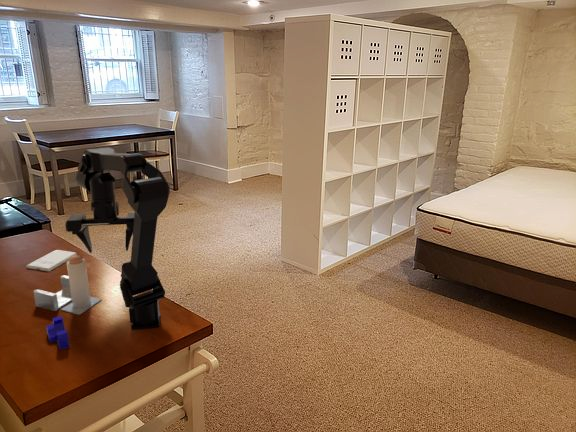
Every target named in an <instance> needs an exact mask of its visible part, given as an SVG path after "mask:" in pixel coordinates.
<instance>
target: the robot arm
mask: <svg viewBox="0 0 576 432" xmlns="http://www.w3.org/2000/svg"><path fill="white" fill-rule="evenodd" d="M82 153H83V154H81V156H80V160H79V164H78V165H77V170H78V172H77V173H76V176H75V181H76V184H77V185H78V186H79V187H80V188H83V189H85V191H88V192H90V196H91V197H90V199H91V201H90V208H91V211H92V214H93V217H92V218H87V216H86V214H71V215H70V216H69V217H68V218H67V219H66V221H65V232H68V233H71V234H72V235H76V236H77V237H78V238H79V240H80V241H81V242H82V244H83V245H84V246H85V248H86V249H87V250H88V252H89V253H91V254H92V252H93V246H92V245H93V244H92V241H91V237H90V236H91V235H90V231H89V227H93V226H116V225H117V226H118V225H119V226H120V225H125V226H126V229H125V251H126V252H128V250H129V247H130V243H131V256H130V261H127V262H124V263H123V264H121V273H120V278H121V279H120V281H119V289H120V292H121V295H122V299H123V301H124V306H125V308H128V314H129V315H128V316H129V323H130V324H131V330H139V329H149V328H158V327H159V326H160V321H161V312H160V304H159V303H160V302H159V300H161V299H164V298H165V295H166V290H165V289H164V286H163V284H162V282H161V279H160V278H159V275H158V271H157V270H156V269H155V267H154V266H153V257H154V249H155V239H156V233H157V224H158V218H159V216H160V214H162V212H163V211H164V210H165V209H166V207H167V205H168V201H169V196H170V193H171V189H170V185H169V183H168V181H167V180H166V178H165V177H164V175H163V173H162V171H161V170H159V169H158V168H157V167H156V166H155V165H152V164H151V163H149V162H148V161H147V158H146V157H145V155H143V154H142V153H139V152H138V153H137V152H136V153H123V152H122V153H121V152H116V150H115V149H113V148H111V147H101V148H100V147H98V148H90V149H89V148H88V149H85V150H83V151H82ZM110 171H116V172H120V173H121V174H122V179H121V186H120V187H121V189H122V191H123V193H124V195H125V196H126V199H127V204H128V205H129V206H130V208H131V209H132V211H133V212H128V213H127V214H126V216H122V217H119V215H120V203H119V202H118V201H116V194H115V193H116V192H115V182H116V177H115V176H114V175H112V174H111V173H110ZM135 172H141V174H143V175H144V176H145V177H147V178H143V179H137V180H132V181H130V179H129V178H128V173H129V174H130V173H135ZM131 239H132V242H131Z"/></svg>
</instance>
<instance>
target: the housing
mask: <svg viewBox="0 0 576 432" xmlns="http://www.w3.org/2000/svg"><path fill="white" fill-rule="evenodd" d="M60 283H61V290H58V291H57V292H50V291H46V290H42V289H34V290H33V296H34V303H35V307H36V308H37V307H38V308H42V309H45V310H49V311H53V312H57V311H58V310H61V309H62V308H64V307H65V306H67V305H69V304H70V303H72V296H71V290H70V283H69V276H68V275H64V274H63V275H60Z"/></svg>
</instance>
